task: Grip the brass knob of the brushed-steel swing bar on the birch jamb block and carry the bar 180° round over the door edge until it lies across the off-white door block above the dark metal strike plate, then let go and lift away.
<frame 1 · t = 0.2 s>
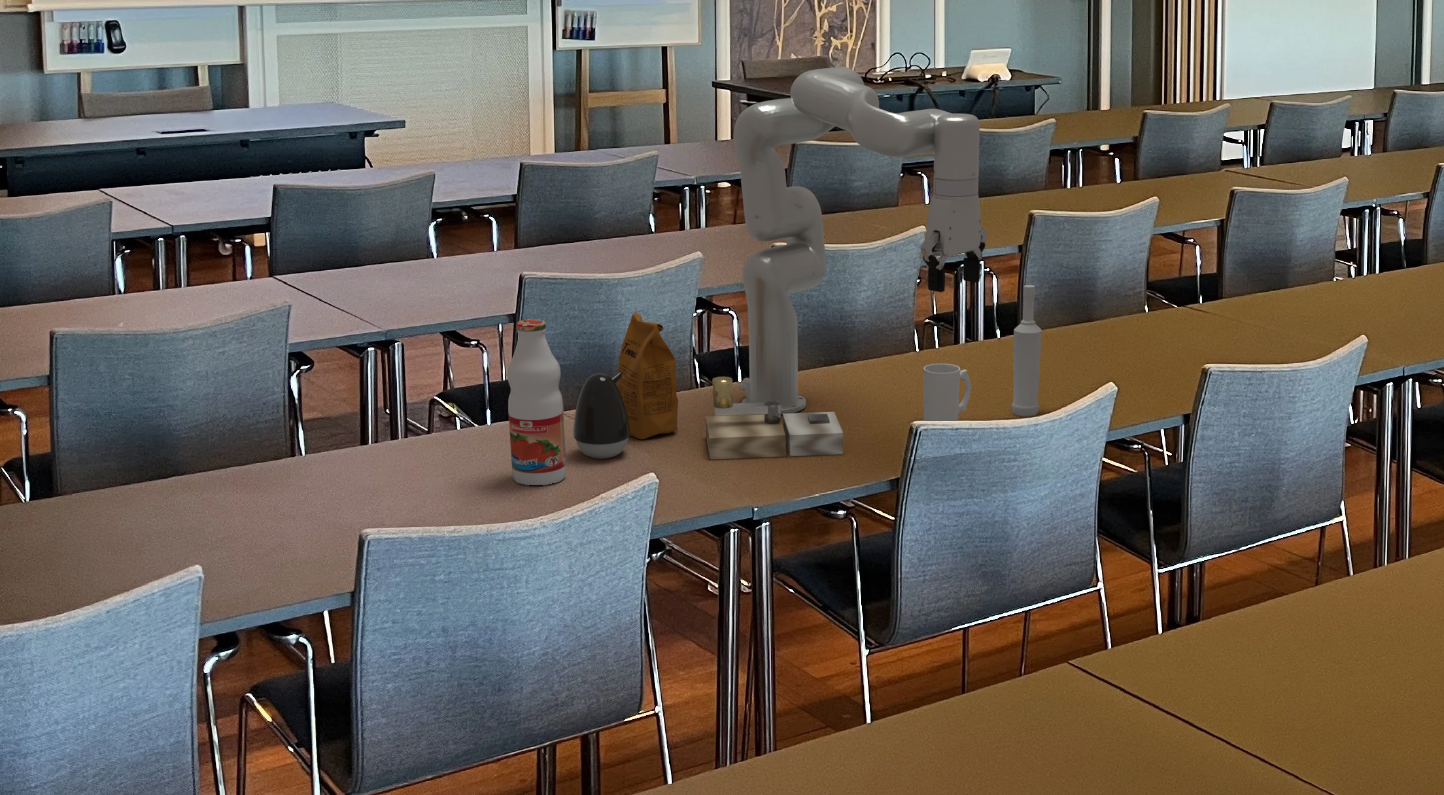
hand: (953, 286, 287), 31 cm above the table, fingers open, 9 cm apart
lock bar: (746, 400, 303), point 8 cm above the table, hinge at 0.0°
pump dispenser: (603, 455, 301), on the table
fruit juice: (539, 479, 290), on the table
coffee package: (647, 431, 315), on the table
mug: (947, 429, 312), on the table
door frame: (772, 442, 305), on the table
bottle: (1025, 413, 320), on the table
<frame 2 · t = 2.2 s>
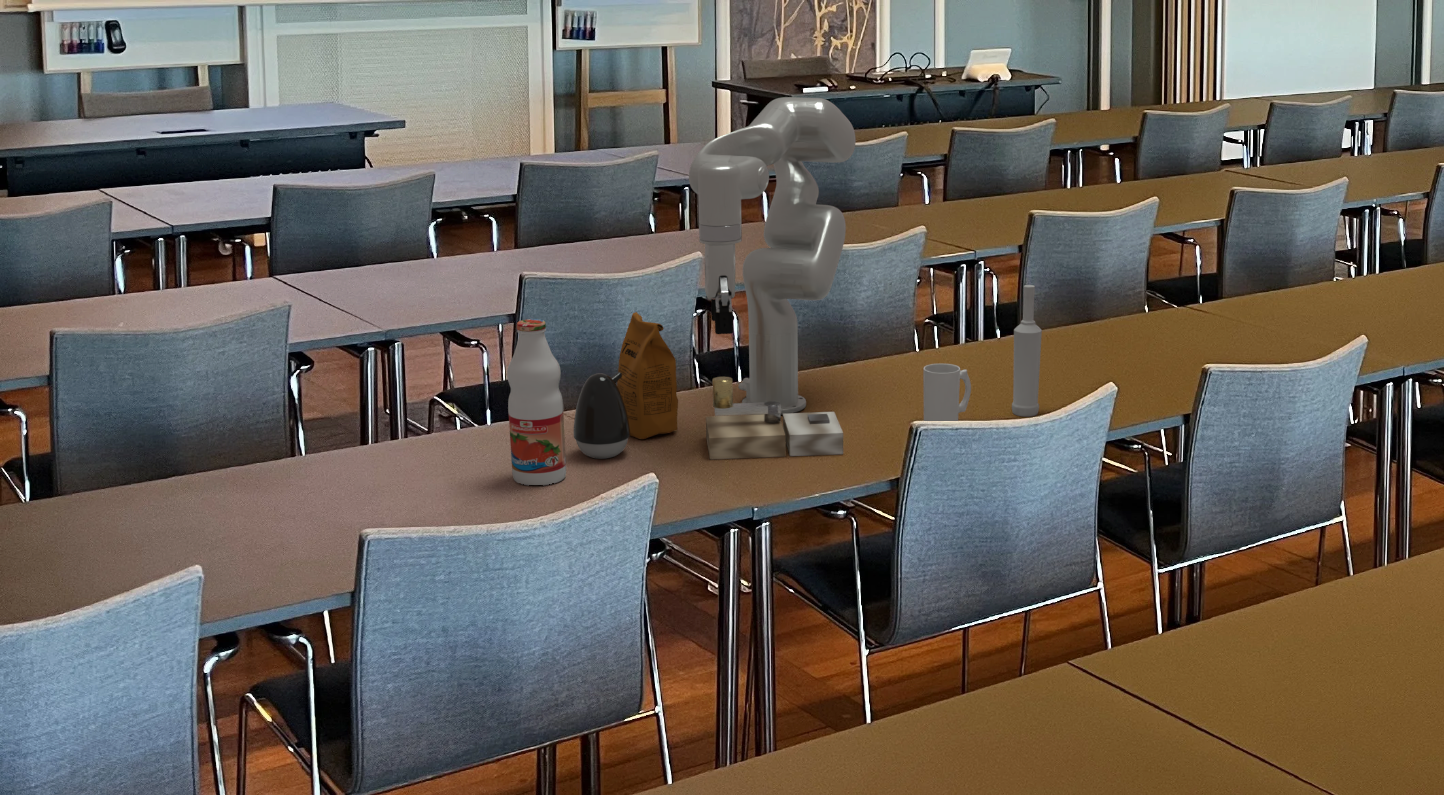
hand: (722, 326, 299), 22 cm above the table, fingers open, 9 cm apart
nothing on the table moved.
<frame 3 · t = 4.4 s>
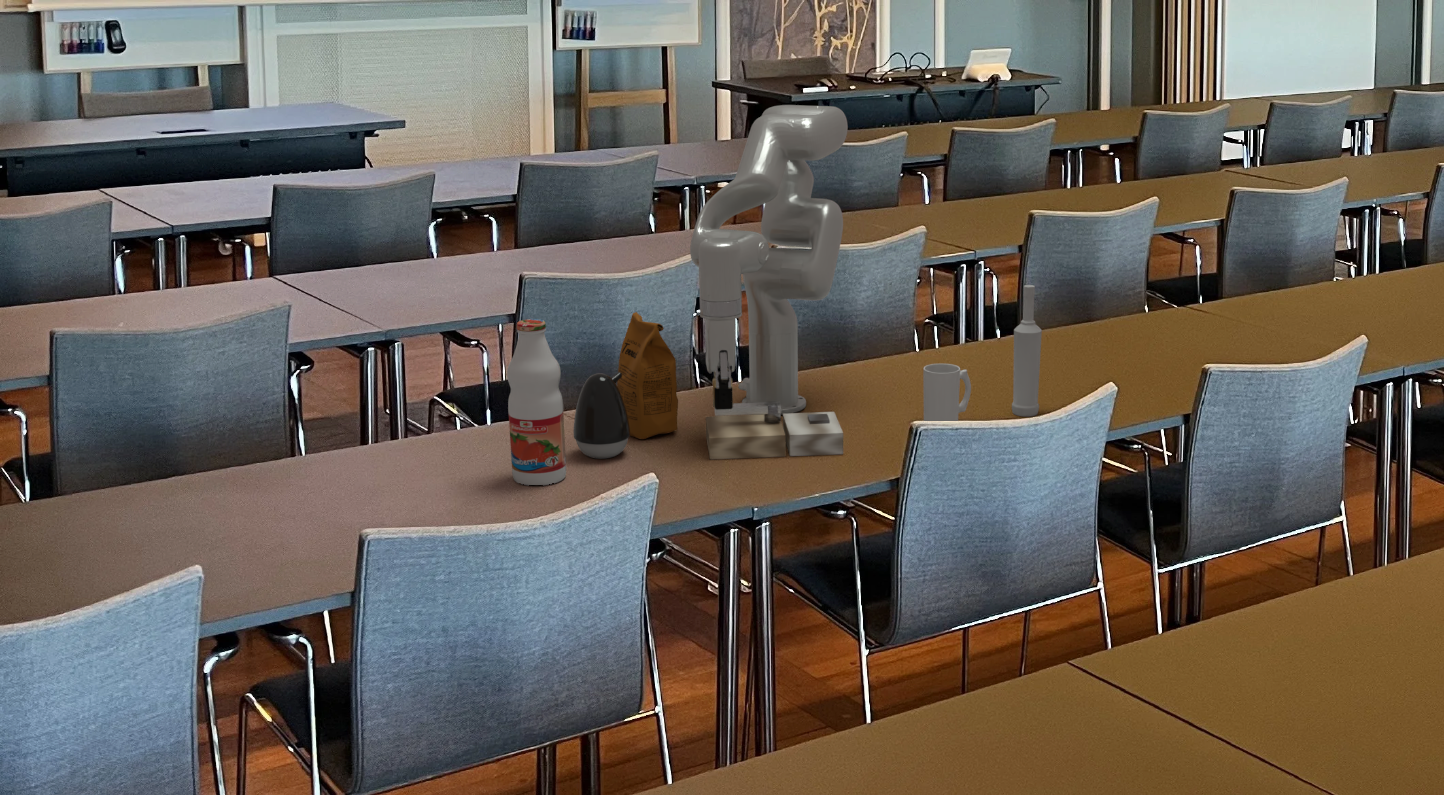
hand: (722, 404, 303), 8 cm above the table, fingers closed on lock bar, 3 cm apart
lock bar: (746, 400, 303), point 8 cm above the table, hinge at 0.0°, touching gripper
everything else where it was.
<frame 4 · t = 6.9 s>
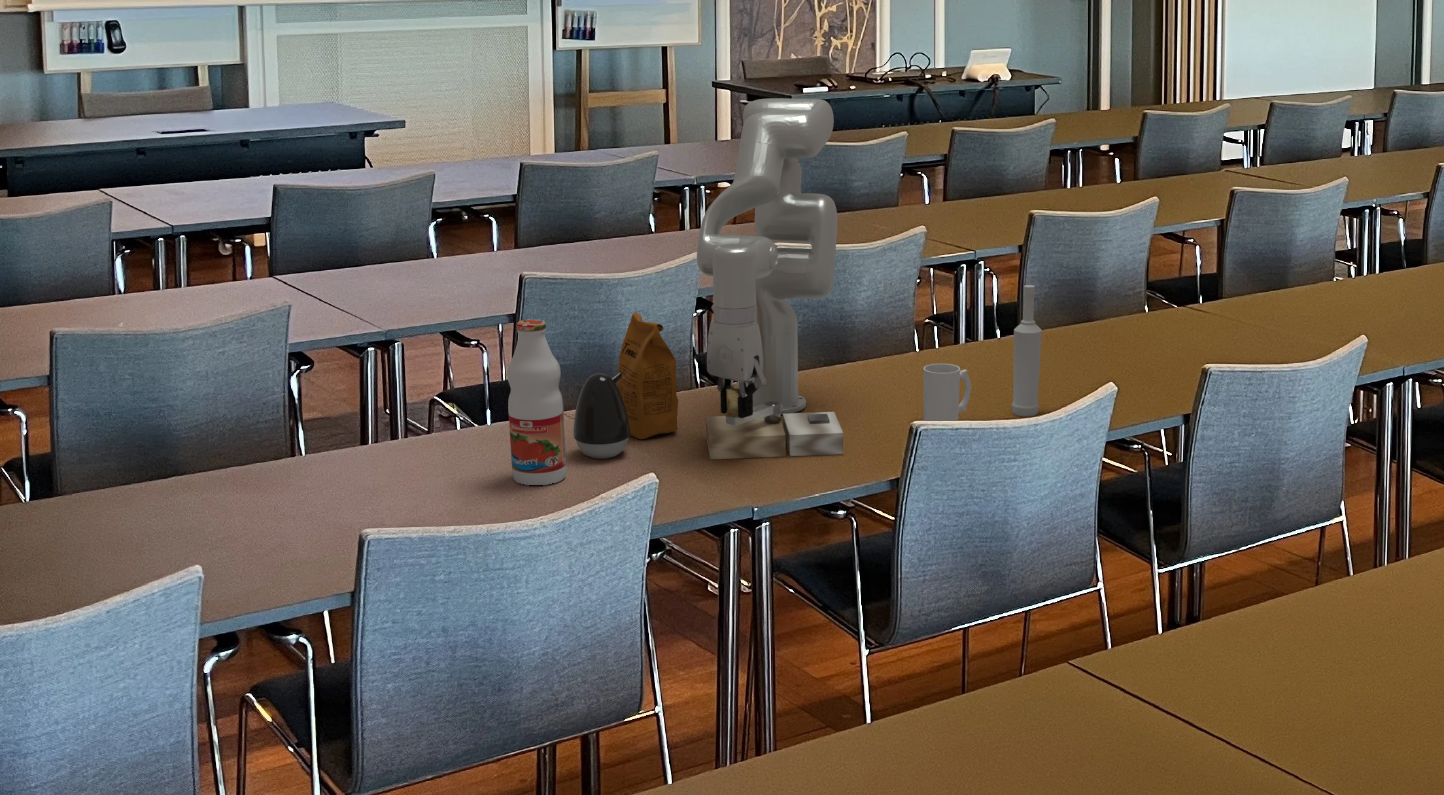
hand: (736, 413, 297), 8 cm above the table, fingers closed on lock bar, 3 cm apart
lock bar: (753, 404, 300), point 8 cm above the table, hinge at 39.9°, touching gripper
everything else where it was.
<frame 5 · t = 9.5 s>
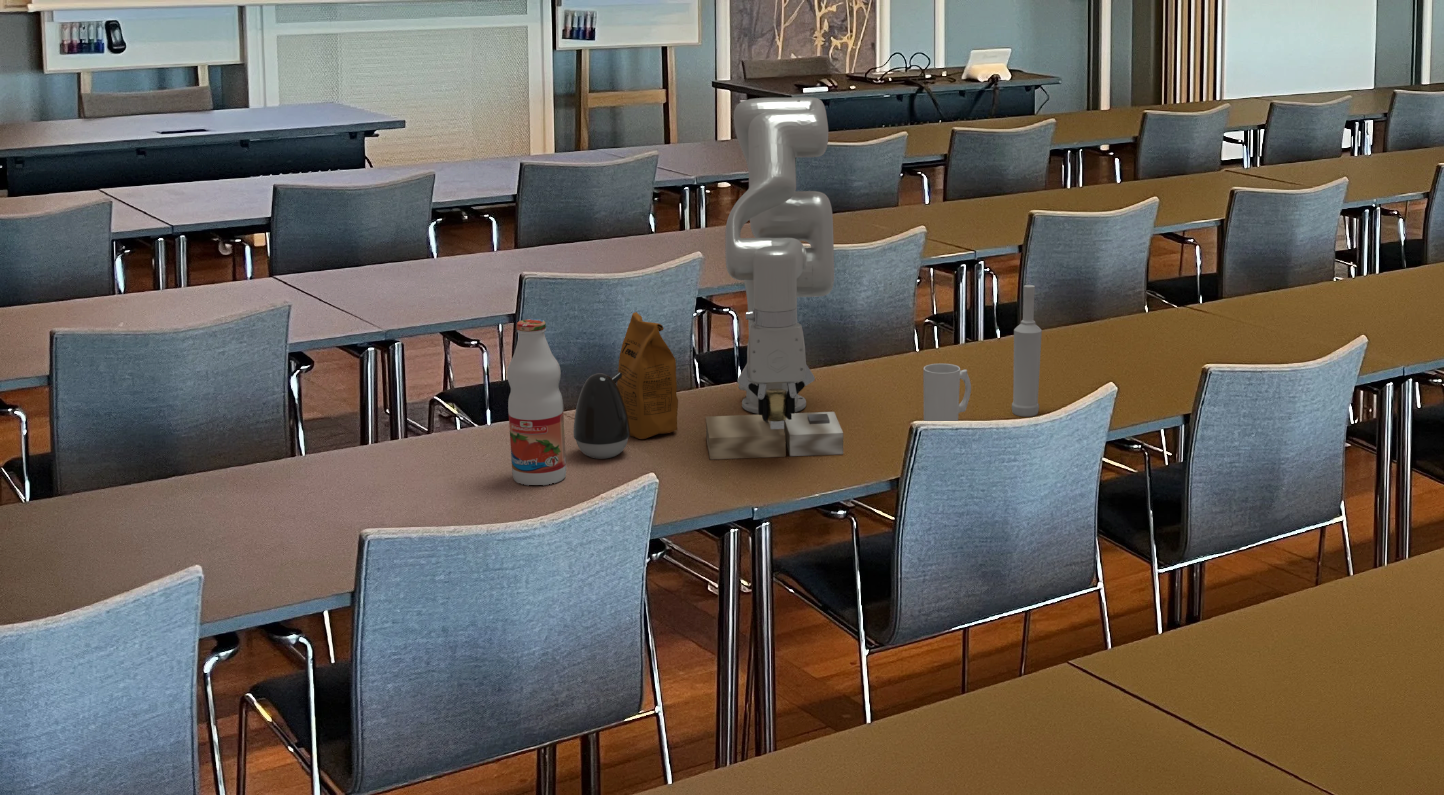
hand: (776, 417, 295), 8 cm above the table, fingers closed on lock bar, 3 cm apart
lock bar: (774, 406, 299), point 8 cm above the table, hinge at 89.8°, touching gripper
everything else where it was.
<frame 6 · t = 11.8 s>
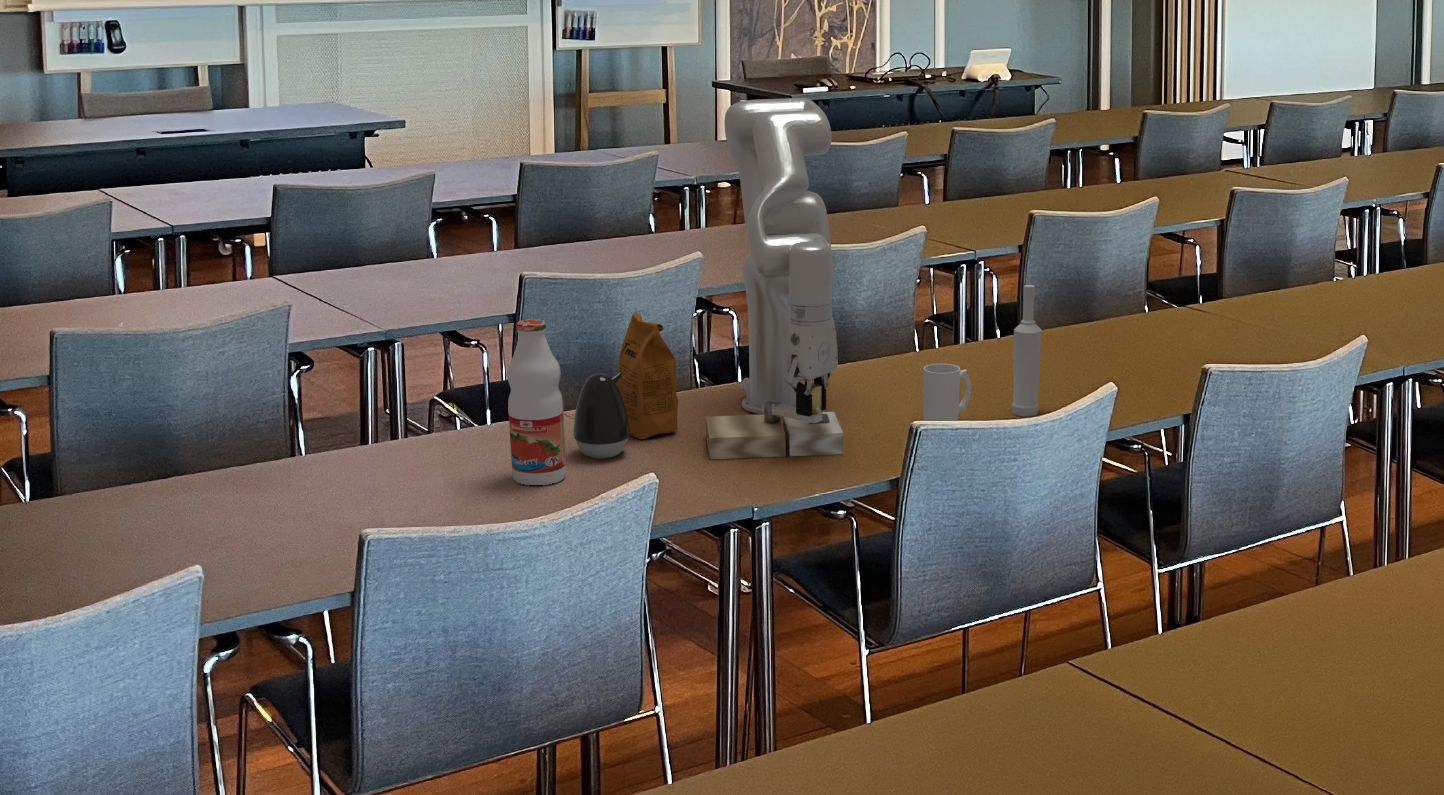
hand: (811, 411, 298), 8 cm above the table, fingers closed on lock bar, 3 cm apart
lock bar: (792, 403, 300), point 8 cm above the table, hinge at 136.3°, touching gripper
everything else where it was.
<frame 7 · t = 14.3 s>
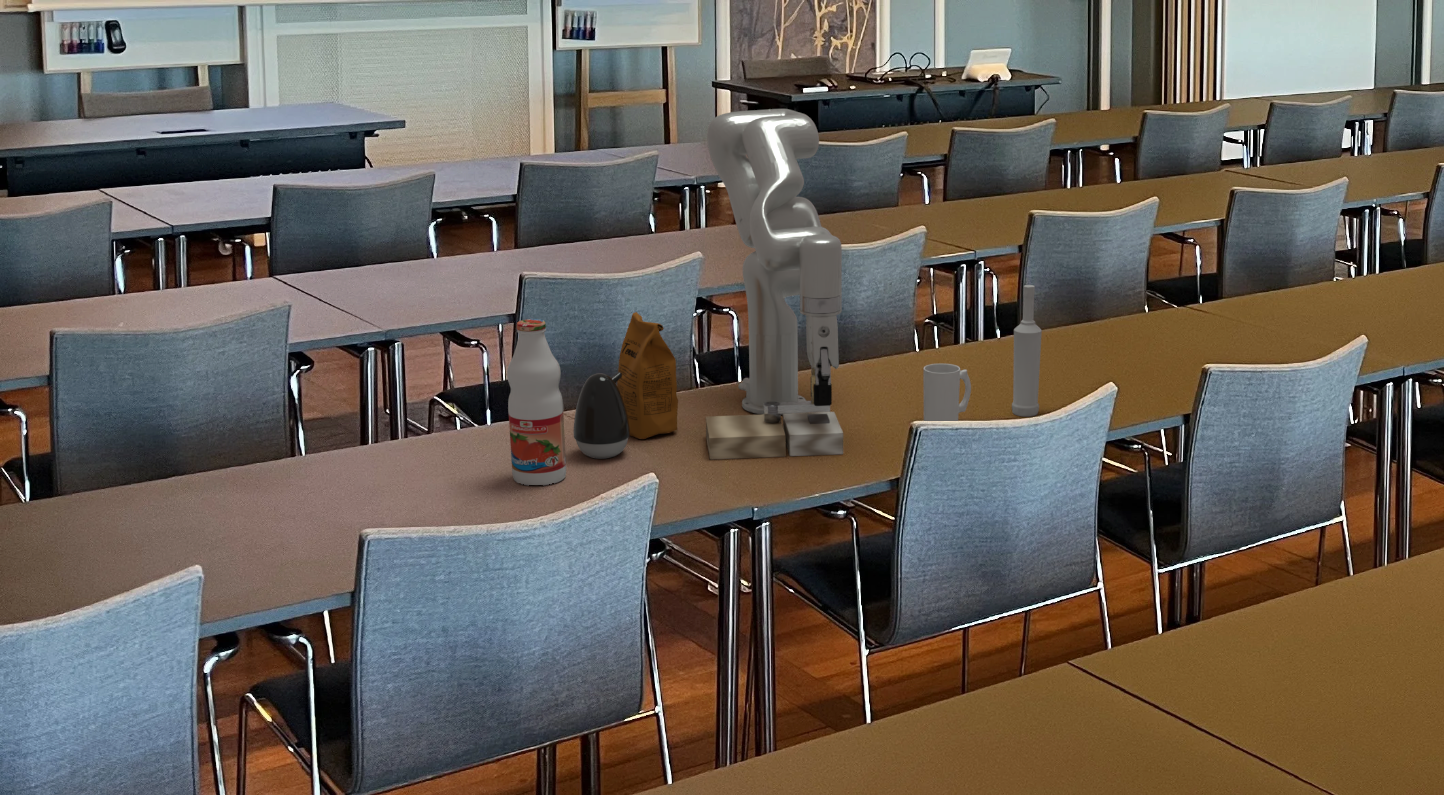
hand: (821, 400, 304), 8 cm above the table, fingers open, 4 cm apart
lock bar: (797, 398, 303), point 8 cm above the table, hinge at 179.4°
everything else where it was.
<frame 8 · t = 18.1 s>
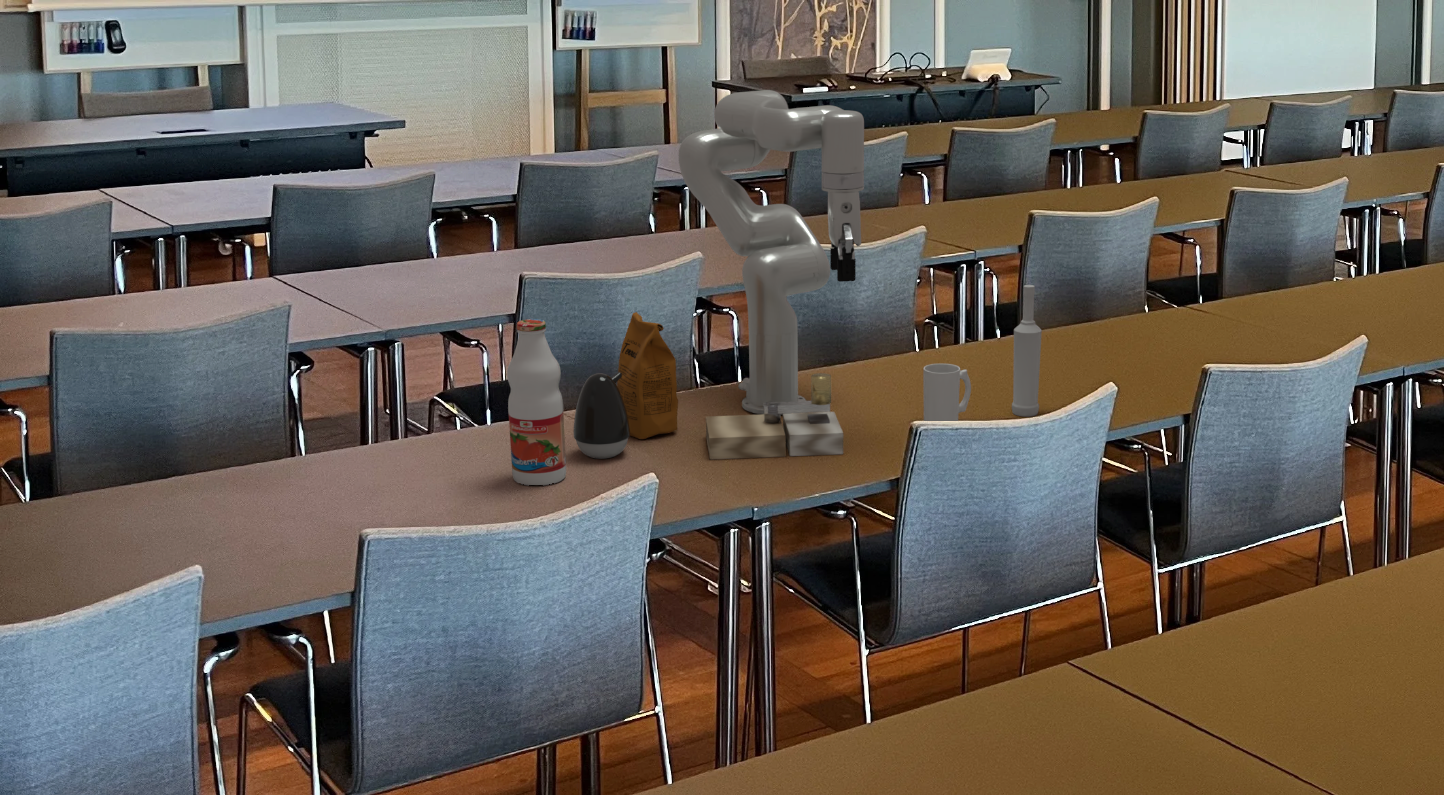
hand: (842, 275, 301), 30 cm above the table, fingers open, 9 cm apart
nothing on the table moved.
at the end: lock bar at +179° (first picture: +0°); the gripper is holding nothing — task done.
